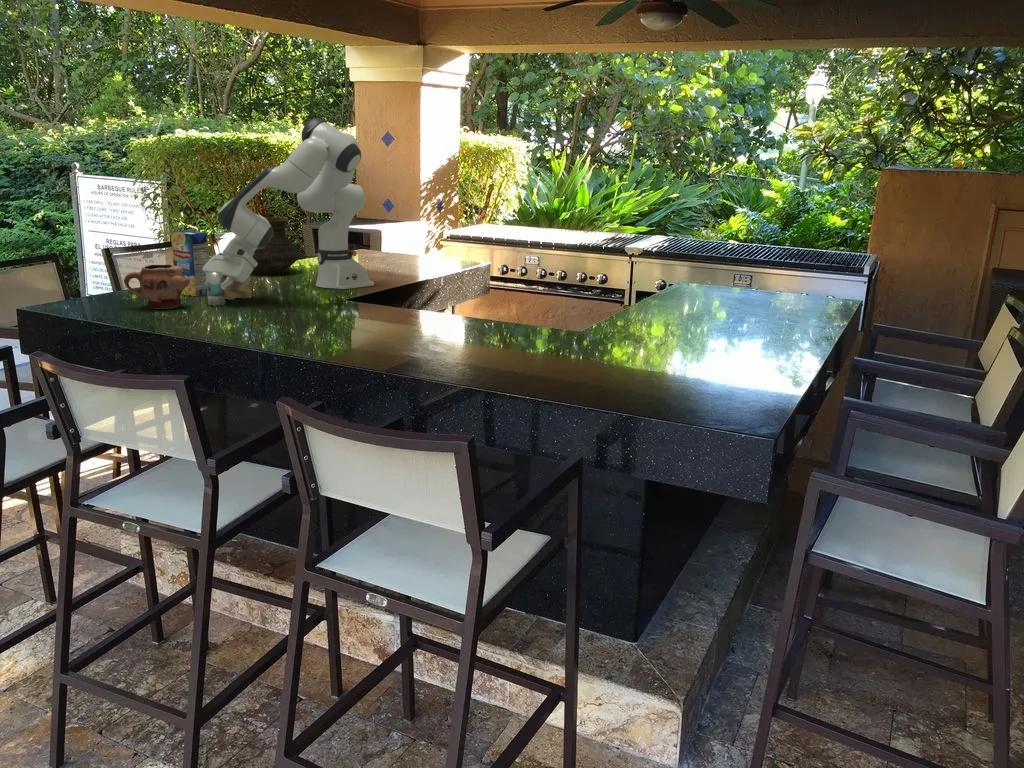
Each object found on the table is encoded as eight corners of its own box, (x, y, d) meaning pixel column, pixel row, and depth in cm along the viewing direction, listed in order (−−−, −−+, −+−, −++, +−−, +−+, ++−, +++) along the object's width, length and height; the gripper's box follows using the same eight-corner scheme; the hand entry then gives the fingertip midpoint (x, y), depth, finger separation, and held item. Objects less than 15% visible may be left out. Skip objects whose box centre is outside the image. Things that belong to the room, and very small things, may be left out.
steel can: (222, 302, 295) (220, 270, 292) (227, 305, 290) (225, 272, 287) (206, 303, 292) (203, 271, 289) (210, 306, 287) (208, 273, 284)
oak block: (243, 293, 312) (242, 274, 310) (251, 297, 304) (250, 278, 302) (215, 295, 307) (213, 275, 305) (222, 299, 299) (221, 279, 297)
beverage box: (196, 296, 303) (191, 234, 297) (175, 293, 308) (170, 231, 302) (211, 294, 308) (207, 232, 302) (191, 290, 314) (186, 230, 308)
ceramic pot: (296, 277, 349) (294, 221, 343) (235, 276, 346) (232, 220, 339) (303, 268, 372) (301, 216, 365) (245, 267, 368) (242, 215, 362)
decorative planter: (128, 313, 273) (123, 269, 270) (125, 306, 284) (121, 264, 280) (194, 309, 282) (190, 267, 278) (189, 302, 293) (186, 261, 289)
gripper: (211, 246, 297) (189, 277, 292) (249, 252, 286) (226, 285, 281) (223, 258, 302) (201, 289, 297) (261, 264, 291) (238, 296, 286)
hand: (214, 287), depth 289 cm, fingers open, 6 cm apart
